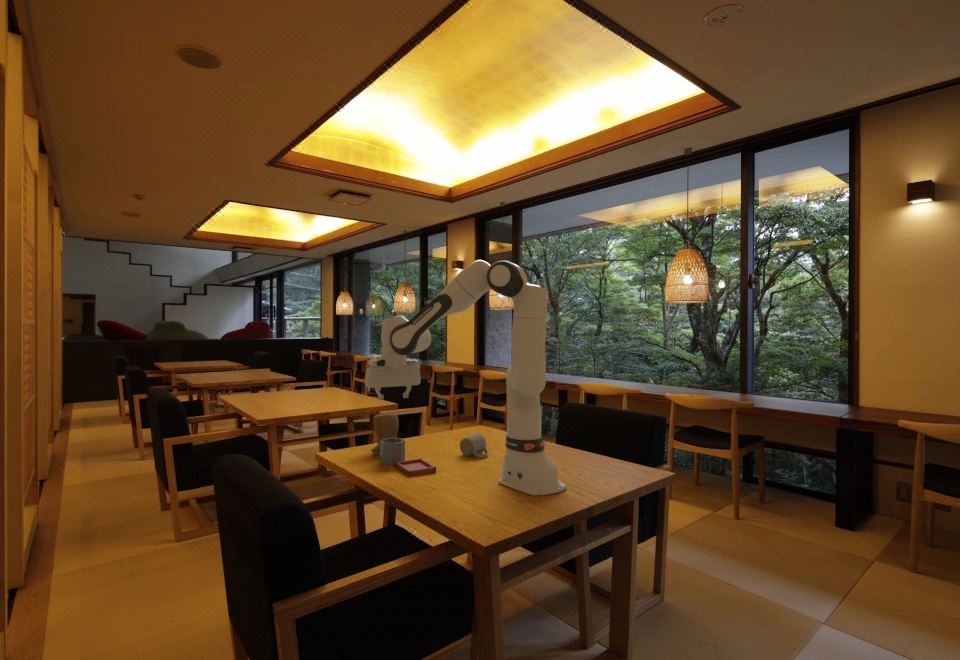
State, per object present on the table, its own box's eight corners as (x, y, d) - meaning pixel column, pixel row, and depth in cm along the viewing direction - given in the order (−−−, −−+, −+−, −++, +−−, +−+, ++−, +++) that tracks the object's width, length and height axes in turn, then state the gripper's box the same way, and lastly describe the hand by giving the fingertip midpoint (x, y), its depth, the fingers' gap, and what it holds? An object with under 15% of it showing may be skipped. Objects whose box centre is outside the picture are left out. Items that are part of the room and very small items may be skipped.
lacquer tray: (436, 472, 165) (436, 467, 165) (408, 476, 160) (408, 471, 160) (421, 463, 175) (421, 458, 175) (395, 467, 170) (395, 461, 170)
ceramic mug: (457, 454, 187) (458, 435, 187) (471, 450, 193) (472, 431, 193) (479, 460, 180) (479, 440, 180) (492, 456, 187) (493, 436, 187)
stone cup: (382, 446, 198) (382, 409, 198) (408, 448, 195) (409, 411, 194) (362, 455, 184) (362, 416, 183) (390, 458, 180) (391, 418, 180)
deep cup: (407, 463, 174) (407, 441, 174) (385, 467, 169) (385, 444, 169) (398, 458, 181) (399, 436, 181) (377, 461, 177) (377, 439, 176)
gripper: (416, 359, 183) (416, 395, 183) (363, 361, 172) (363, 399, 172) (423, 360, 177) (423, 397, 177) (369, 362, 167) (369, 402, 167)
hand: (393, 398), depth 175 cm, fingers open, 8 cm apart
